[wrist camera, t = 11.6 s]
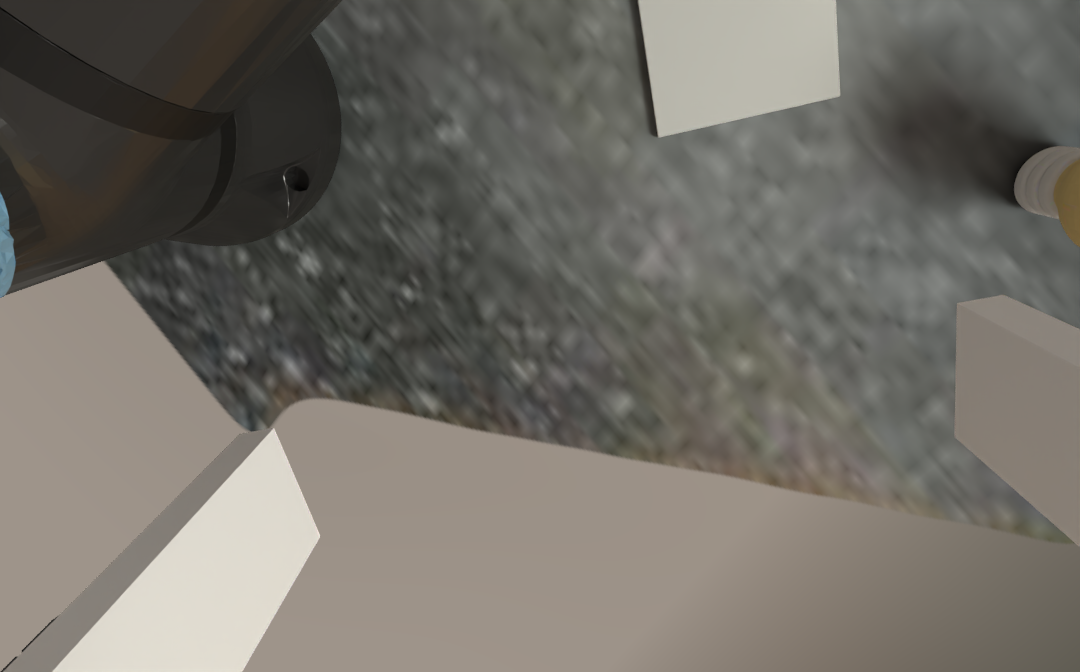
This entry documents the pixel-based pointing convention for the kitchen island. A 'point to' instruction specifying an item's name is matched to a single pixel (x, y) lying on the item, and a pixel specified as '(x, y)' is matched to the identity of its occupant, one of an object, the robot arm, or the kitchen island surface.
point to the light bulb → (1052, 187)
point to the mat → (736, 58)
